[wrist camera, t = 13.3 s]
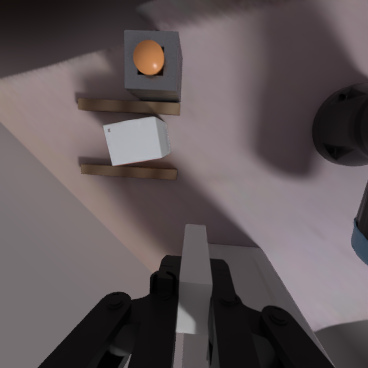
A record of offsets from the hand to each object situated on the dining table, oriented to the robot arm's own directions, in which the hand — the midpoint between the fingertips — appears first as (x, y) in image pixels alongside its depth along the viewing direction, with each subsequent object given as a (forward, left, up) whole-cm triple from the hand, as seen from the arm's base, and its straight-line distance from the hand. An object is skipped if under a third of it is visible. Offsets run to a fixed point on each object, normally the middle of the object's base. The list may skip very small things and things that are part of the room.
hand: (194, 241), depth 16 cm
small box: (+10, -7, -30) cm, 32 cm away
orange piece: (+8, -19, -25) cm, 32 cm away
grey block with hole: (+8, -19, -29) cm, 36 cm away
